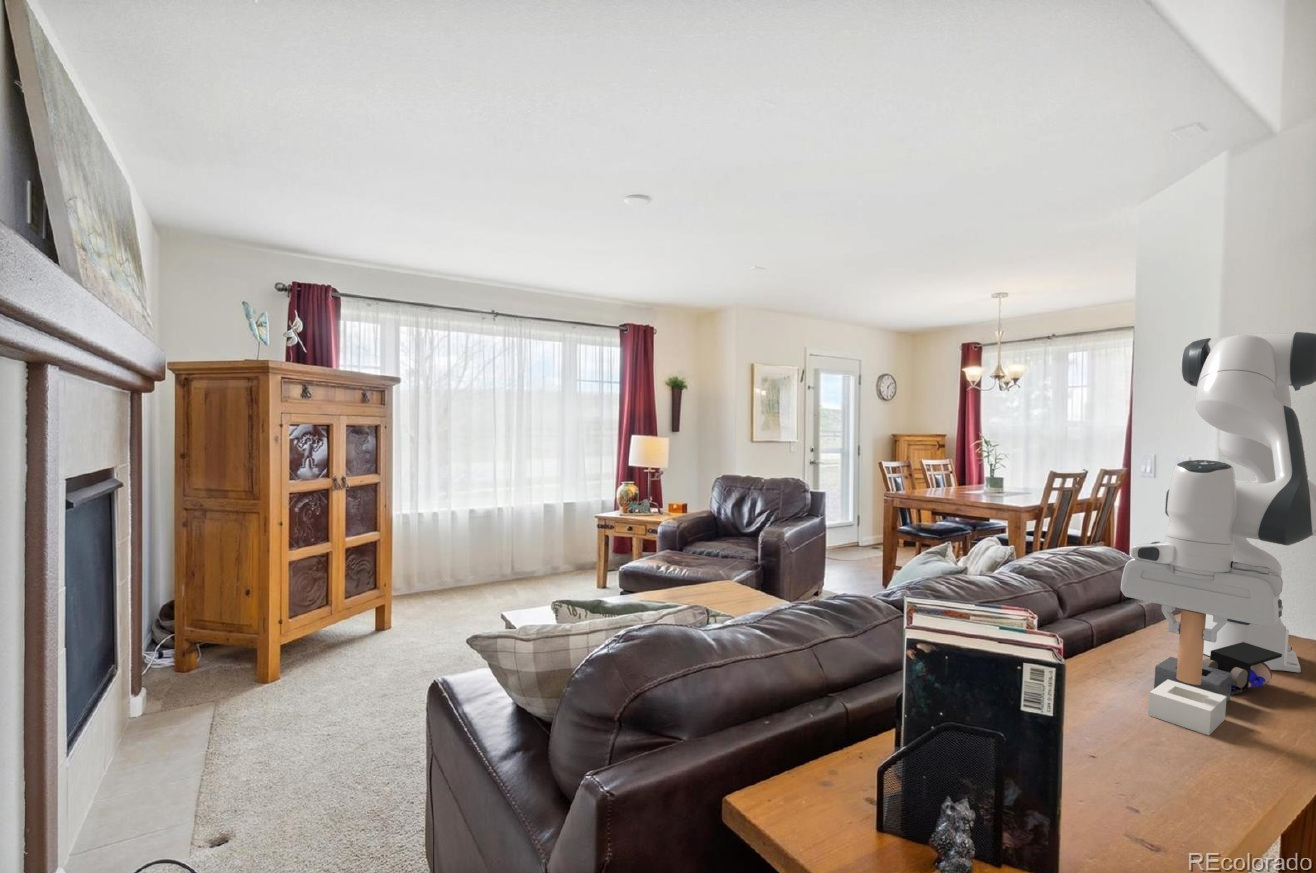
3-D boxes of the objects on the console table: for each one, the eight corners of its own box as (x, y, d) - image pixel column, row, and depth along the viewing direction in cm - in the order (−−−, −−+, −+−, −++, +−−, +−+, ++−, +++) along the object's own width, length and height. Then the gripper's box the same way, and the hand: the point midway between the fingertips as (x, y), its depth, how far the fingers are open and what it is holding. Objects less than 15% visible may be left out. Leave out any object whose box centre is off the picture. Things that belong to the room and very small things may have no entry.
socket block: (1166, 701, 112) (1167, 679, 112) (1224, 719, 106) (1226, 696, 105) (1147, 715, 106) (1149, 692, 106) (1208, 735, 100) (1210, 711, 99)
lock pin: (1179, 675, 108) (1184, 607, 107) (1203, 682, 105) (1208, 612, 105) (1173, 679, 106) (1178, 609, 105) (1198, 686, 103) (1203, 615, 103)
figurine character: (1241, 708, 114) (1283, 687, 120) (1241, 668, 113) (1284, 649, 119) (1196, 692, 120) (1239, 674, 126) (1197, 654, 119) (1239, 637, 125)
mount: (1168, 681, 121) (1170, 656, 121) (1230, 700, 114) (1232, 673, 113) (1153, 692, 115) (1155, 666, 115) (1217, 712, 108) (1219, 684, 108)
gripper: (1287, 567, 98) (1281, 653, 99) (1132, 543, 115) (1127, 616, 115) (1279, 572, 95) (1272, 661, 95) (1120, 546, 111) (1115, 622, 111)
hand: (1191, 636), depth 105 cm, fingers closed on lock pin, 3 cm apart
